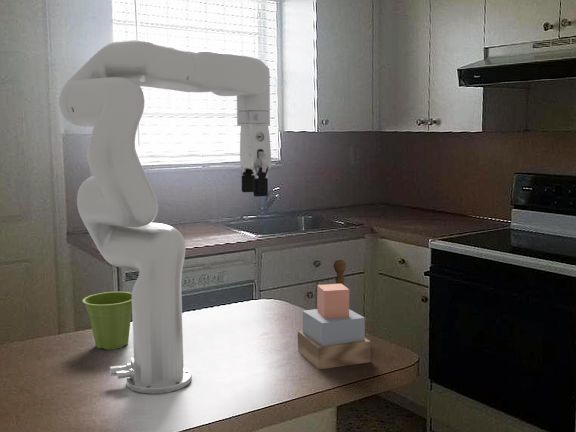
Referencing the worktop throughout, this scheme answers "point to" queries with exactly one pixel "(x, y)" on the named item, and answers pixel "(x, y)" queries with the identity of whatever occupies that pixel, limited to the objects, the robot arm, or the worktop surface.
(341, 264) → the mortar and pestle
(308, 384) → the worktop surface
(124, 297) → the plant pot
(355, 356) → the lower block
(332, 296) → the pink cube
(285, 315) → the worktop surface
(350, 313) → the upper block
